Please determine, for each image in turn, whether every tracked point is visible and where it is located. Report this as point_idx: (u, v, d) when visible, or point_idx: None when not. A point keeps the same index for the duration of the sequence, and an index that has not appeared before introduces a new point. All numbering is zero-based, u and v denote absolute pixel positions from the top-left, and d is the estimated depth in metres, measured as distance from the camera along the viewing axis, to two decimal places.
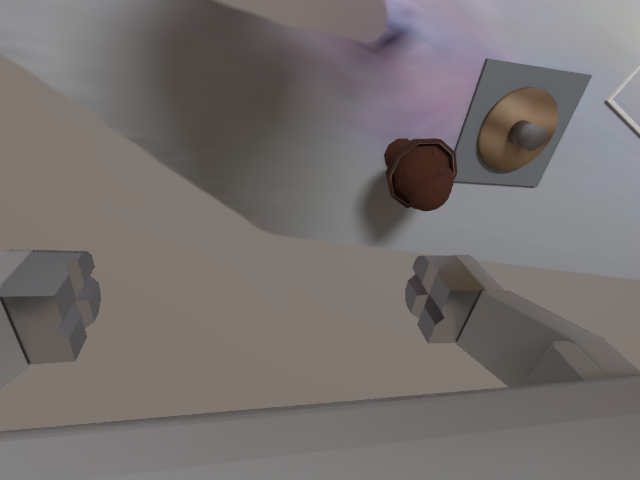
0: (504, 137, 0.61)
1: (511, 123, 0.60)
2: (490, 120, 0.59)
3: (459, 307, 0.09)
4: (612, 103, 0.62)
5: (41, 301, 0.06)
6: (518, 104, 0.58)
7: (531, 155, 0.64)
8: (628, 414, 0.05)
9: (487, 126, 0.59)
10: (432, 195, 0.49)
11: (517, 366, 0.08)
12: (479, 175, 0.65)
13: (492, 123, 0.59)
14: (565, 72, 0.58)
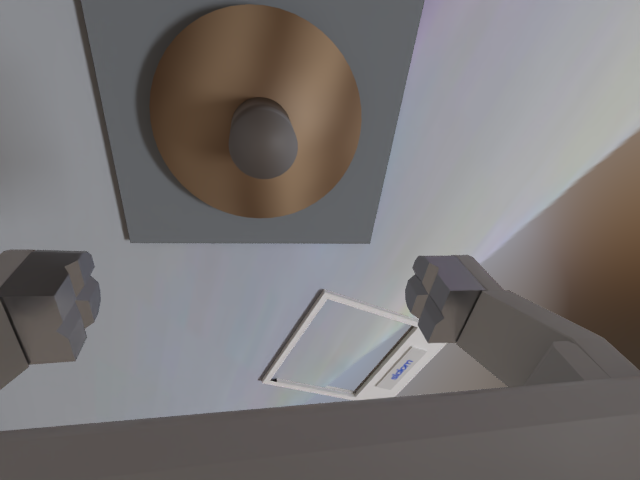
0: (243, 89, 0.22)
1: (281, 94, 0.23)
2: (286, 21, 0.21)
3: (459, 307, 0.09)
4: (320, 302, 0.35)
5: (41, 301, 0.06)
6: (327, 96, 0.24)
7: (207, 188, 0.26)
8: (628, 414, 0.05)
9: (269, 17, 0.21)
10: None
11: (517, 366, 0.08)
12: (117, 53, 0.21)
13: (278, 32, 0.21)
14: (379, 189, 0.29)
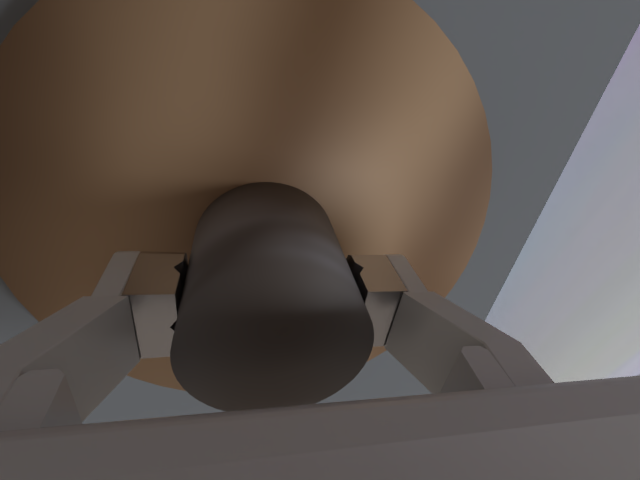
0: (222, 165, 0.09)
1: (316, 175, 0.09)
2: None
3: (381, 309, 0.08)
4: None
5: (163, 299, 0.07)
6: (422, 177, 0.10)
7: (147, 358, 0.12)
8: (628, 414, 0.05)
9: None
10: None
11: (438, 372, 0.08)
12: None
13: (321, 21, 0.08)
14: None
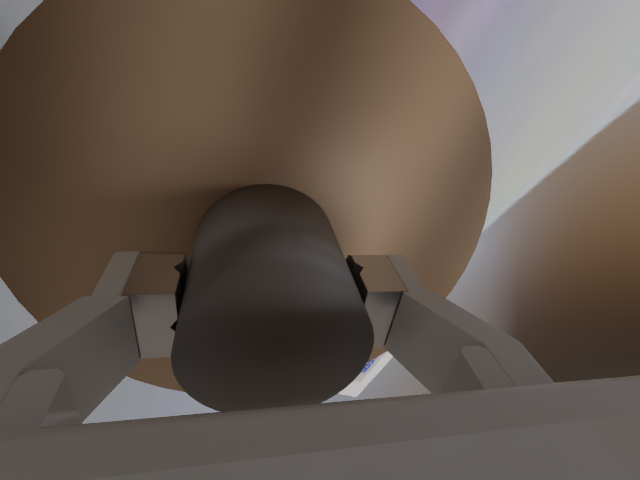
0: (222, 167, 0.09)
1: (316, 177, 0.09)
2: None
3: (381, 309, 0.08)
4: None
5: (163, 299, 0.07)
6: (422, 179, 0.10)
7: (147, 359, 0.12)
8: (628, 414, 0.05)
9: None
10: None
11: (438, 372, 0.08)
12: None
13: (322, 24, 0.08)
14: None
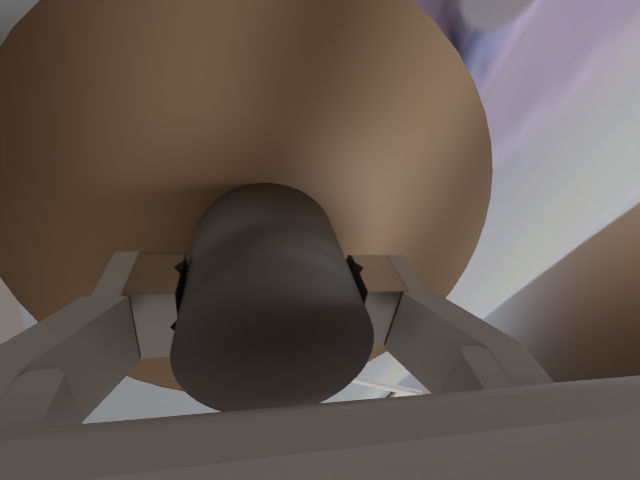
0: (222, 166, 0.09)
1: (316, 176, 0.09)
2: None
3: (381, 309, 0.08)
4: None
5: (163, 300, 0.07)
6: (422, 178, 0.10)
7: (147, 359, 0.12)
8: (628, 414, 0.05)
9: None
10: None
11: (438, 372, 0.08)
12: None
13: (321, 22, 0.08)
14: None
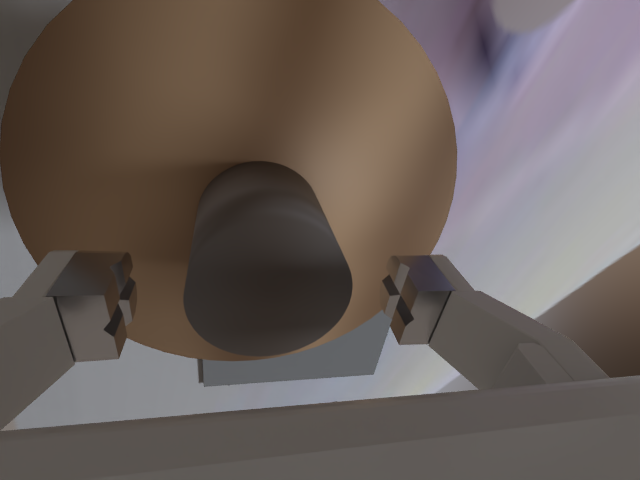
0: (221, 145, 0.10)
1: (303, 155, 0.11)
2: None
3: (429, 308, 0.08)
4: None
5: (92, 301, 0.07)
6: (396, 157, 0.12)
7: (154, 325, 0.13)
8: (628, 414, 0.05)
9: None
10: None
11: (487, 368, 0.08)
12: None
13: (305, 21, 0.09)
14: (382, 344, 0.41)
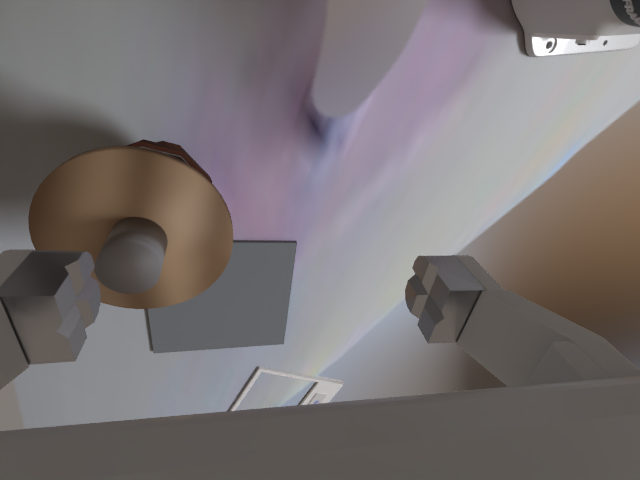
0: (116, 212, 0.26)
1: (153, 214, 0.26)
2: (149, 161, 0.24)
3: (459, 307, 0.09)
4: (257, 373, 0.62)
5: (42, 301, 0.06)
6: (197, 213, 0.27)
7: None
8: (628, 414, 0.05)
9: (132, 158, 0.24)
10: None
11: (517, 366, 0.08)
12: None
13: (143, 169, 0.24)
14: (285, 320, 0.56)
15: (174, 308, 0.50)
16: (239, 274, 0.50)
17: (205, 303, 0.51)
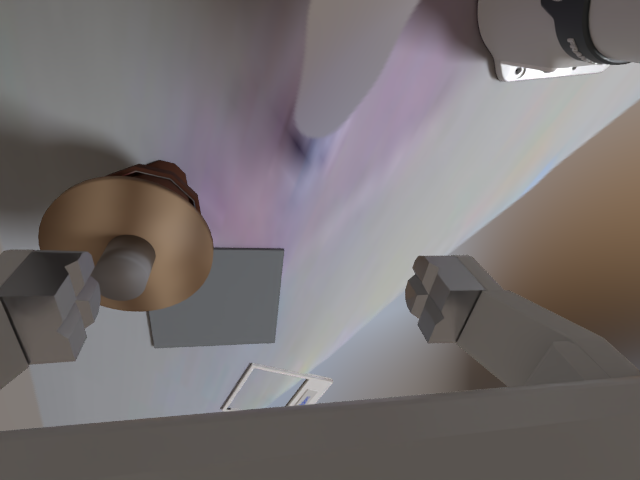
0: (111, 230, 0.30)
1: (142, 232, 0.31)
2: (137, 189, 0.29)
3: (459, 307, 0.09)
4: (250, 369, 0.66)
5: (42, 301, 0.06)
6: (180, 231, 0.31)
7: None
8: (628, 414, 0.05)
9: (123, 187, 0.28)
10: None
11: (517, 366, 0.08)
12: None
13: (132, 195, 0.29)
14: (275, 321, 0.61)
15: (172, 308, 0.55)
16: (231, 278, 0.54)
17: (200, 304, 0.56)
